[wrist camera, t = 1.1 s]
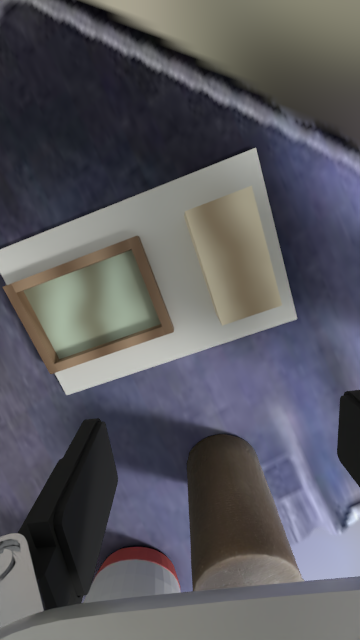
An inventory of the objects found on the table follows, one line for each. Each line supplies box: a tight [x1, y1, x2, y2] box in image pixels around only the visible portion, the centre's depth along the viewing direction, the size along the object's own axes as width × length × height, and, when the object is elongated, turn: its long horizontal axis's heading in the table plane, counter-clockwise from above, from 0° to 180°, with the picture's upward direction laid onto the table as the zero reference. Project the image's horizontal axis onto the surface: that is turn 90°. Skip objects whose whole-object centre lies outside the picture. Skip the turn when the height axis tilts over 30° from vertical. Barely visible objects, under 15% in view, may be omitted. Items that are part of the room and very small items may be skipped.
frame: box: [3, 236, 174, 374], centre depth 28 cm, size 15×11×2 cm
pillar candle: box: [187, 434, 304, 591], centre depth 28 cm, size 10×10×15 cm
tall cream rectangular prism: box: [184, 186, 282, 326], centre depth 25 cm, size 6×11×4 cm, turn 20°
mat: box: [0, 148, 297, 395], centre depth 28 cm, size 29×18×1 cm, turn 110°
